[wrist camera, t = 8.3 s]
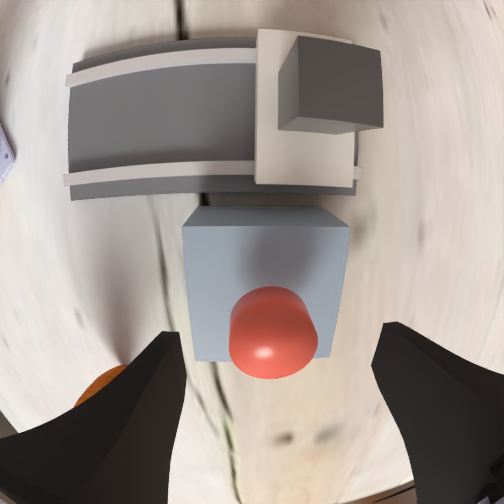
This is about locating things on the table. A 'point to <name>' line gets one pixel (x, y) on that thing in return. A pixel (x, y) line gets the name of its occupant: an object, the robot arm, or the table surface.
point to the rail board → (169, 122)
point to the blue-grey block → (261, 267)
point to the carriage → (312, 106)
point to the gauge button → (271, 333)
